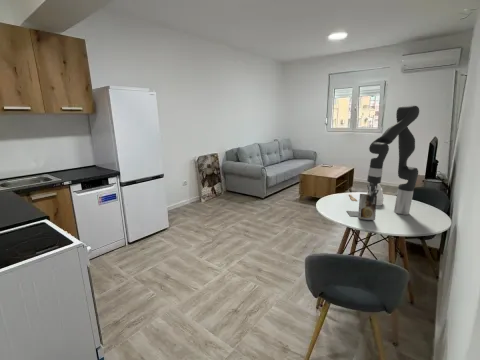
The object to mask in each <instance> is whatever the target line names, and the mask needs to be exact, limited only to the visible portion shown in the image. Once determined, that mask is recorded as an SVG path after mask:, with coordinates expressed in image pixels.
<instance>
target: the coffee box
mask: <svg viewBox="0 0 480 360" xmlns="http://www.w3.org/2000/svg"><path fill="white" fill-rule="evenodd" d="M369 196H370V195H369V194H367V193H359V199H358V201H359V202H358V217H357V218H358V219H359V220H367V221H376V213H377V205H376V201H377V196H374V199H373V202H369Z"/></svg>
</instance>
